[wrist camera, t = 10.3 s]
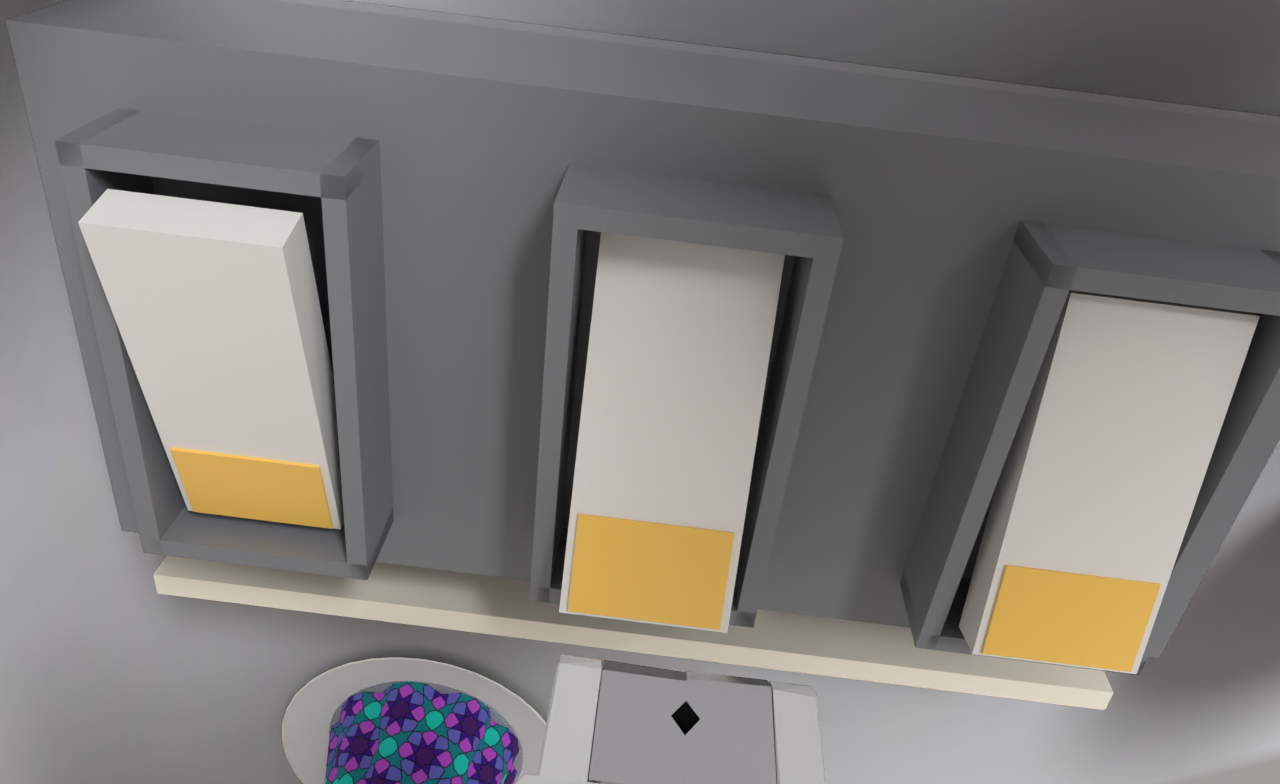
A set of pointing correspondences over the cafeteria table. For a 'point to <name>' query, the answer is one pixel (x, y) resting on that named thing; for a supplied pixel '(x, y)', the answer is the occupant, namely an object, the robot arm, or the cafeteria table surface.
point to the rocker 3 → (1103, 480)
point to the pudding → (408, 727)
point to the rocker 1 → (226, 350)
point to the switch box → (564, 292)
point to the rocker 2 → (668, 430)
